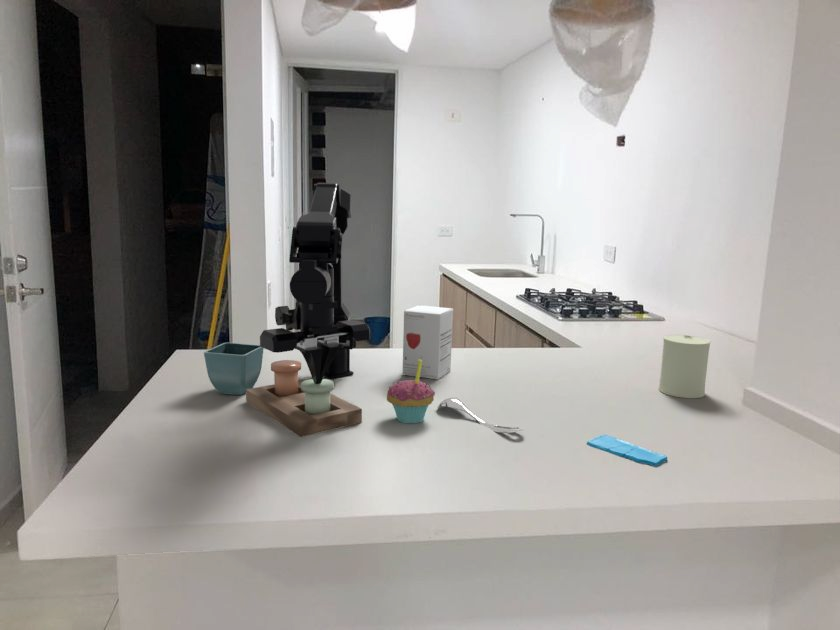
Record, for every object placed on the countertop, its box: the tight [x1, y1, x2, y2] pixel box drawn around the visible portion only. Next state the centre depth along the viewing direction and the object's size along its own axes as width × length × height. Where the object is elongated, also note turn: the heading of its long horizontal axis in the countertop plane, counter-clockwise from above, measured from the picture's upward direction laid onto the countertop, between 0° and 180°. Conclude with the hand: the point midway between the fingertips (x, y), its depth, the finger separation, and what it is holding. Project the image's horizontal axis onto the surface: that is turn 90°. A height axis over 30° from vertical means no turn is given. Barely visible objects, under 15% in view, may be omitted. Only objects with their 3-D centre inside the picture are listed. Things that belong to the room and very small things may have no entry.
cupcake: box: [386, 356, 436, 424], centre depth 109 cm, size 9×8×12 cm
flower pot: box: [203, 342, 264, 396], centre depth 123 cm, size 9×9×9 cm
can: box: [657, 334, 711, 399], centre depth 130 cm, size 9×9×12 cm
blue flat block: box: [586, 434, 668, 467], centre depth 98 cm, size 2×12×6 cm
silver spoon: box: [436, 397, 525, 434], centre depth 109 cm, size 20×4×5 cm
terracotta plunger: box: [270, 359, 302, 397], centre depth 116 cm, size 6×6×6 cm
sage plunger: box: [301, 378, 335, 415], centre depth 107 cm, size 6×6×6 cm
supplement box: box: [402, 304, 454, 380], centre depth 139 cm, size 9×9×15 cm
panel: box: [245, 379, 363, 438], centre depth 112 cm, size 12×22×2 cm, turn 39°
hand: (317, 383), depth 107 cm, fingers closed, pressing on sage plunger
